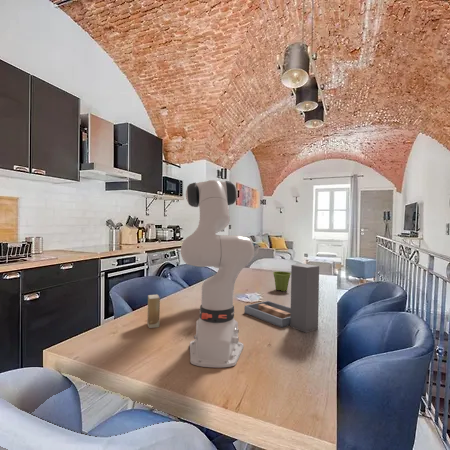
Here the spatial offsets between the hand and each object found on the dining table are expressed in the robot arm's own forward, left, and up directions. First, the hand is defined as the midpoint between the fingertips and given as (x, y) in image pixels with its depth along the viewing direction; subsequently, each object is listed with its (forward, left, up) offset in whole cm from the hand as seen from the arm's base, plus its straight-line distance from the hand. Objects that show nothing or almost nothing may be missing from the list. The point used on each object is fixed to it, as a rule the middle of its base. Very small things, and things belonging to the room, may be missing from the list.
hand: (250, 246), depth 142 cm
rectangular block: (-5, -11, -32) cm, 34 cm away
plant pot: (+50, -22, -33) cm, 64 cm away
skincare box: (-22, +41, -33) cm, 56 cm away
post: (-18, -22, -32) cm, 43 cm away
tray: (-5, -12, -32) cm, 35 cm away
